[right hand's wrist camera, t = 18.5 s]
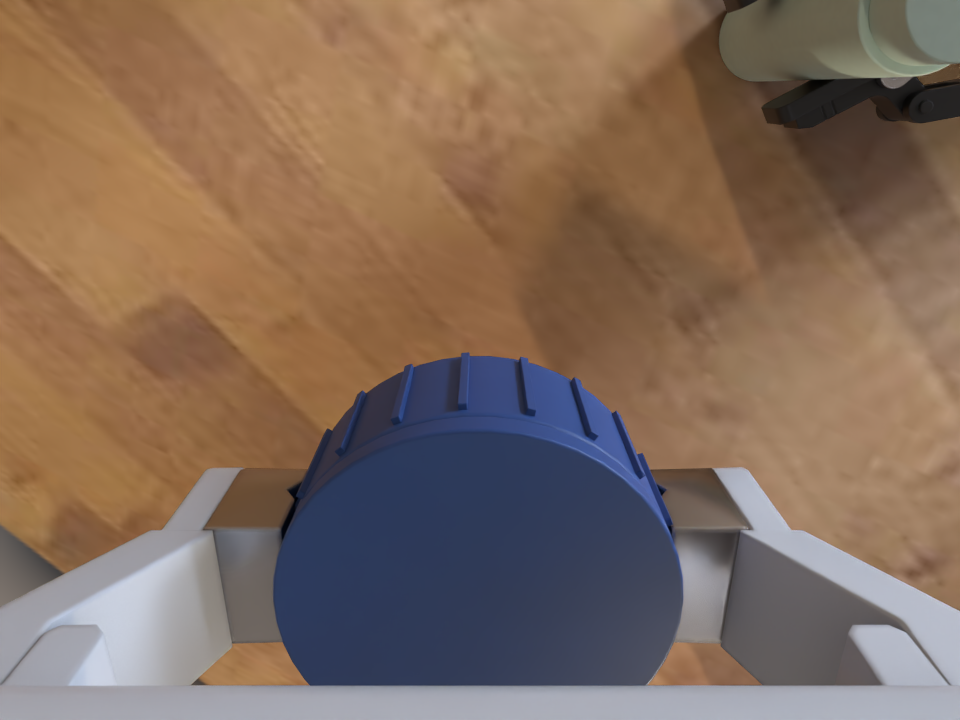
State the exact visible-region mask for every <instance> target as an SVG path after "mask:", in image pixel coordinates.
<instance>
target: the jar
mask: <svg viewBox="0 0 960 720" xmlns="http://www.w3.org/2000/svg"><path fill="white" fill-rule="evenodd" d="M719 49H720V54H721V57H722V60H723V62H724V64H725V65H726V67H727V68H728V69H729V70H730V71H731V72H732V73H733V74H734V75H735V76H737V77H739V78H741V79H744V80H747V81H756V82H757V81H789V80H822V79H854V78H886V77H914V76H922V75H927V74H930V73H933V72H936V71H939V70H941V69H943V68H945V67H947V66H948V65H950V64H959V63H960V0H757V1H756V2H754V3H752V4H750V5H748V6H746V7H744V8H742V9H739V10H736V11H733V12H730V13H728V12H727V14H726V16H725V18H724V20H723V23H722V26H721V29H720V34H719Z"/></svg>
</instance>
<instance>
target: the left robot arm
mask: <svg viewBox="0 0 960 720" xmlns="http://www.w3.org/2000/svg"><path fill="white" fill-rule="evenodd" d="M723 1H724V3H725V6H726V9H727V12H728V13H730V12H733V11H736V10H739V9H742V8H744V7H746V6H748V5H750V4H752V3H754V2H756V1H757V0H723ZM868 98H870V99H871V100H872V101H873V102H874V104H875V105H876V113H877V115H878V117H879V118H880V119H882V120H884V121H909V122H912V123H926V122H932V121H937V120H943V119H948V118H954V117H959V116H960V78H959V79H954V80H949V81H943V82H938V83H932V84H927V85H923V84H922V83H921V82H920V81H919V80H918V78H917V77H916V76H914V77H886V78H854V79H822V80H810V81H808V82H806V83H804V84H802V85H800V86H799V87H797V88H795V89H793V90H791V91H789V92H787V93H785V94H783V95H782V96H780V97H778V98H776V99H774V100H772V101H770V102H768V103H767V104H765V105H764V106H762V110H763V113H764V116H765V119H766V121H767V123H769V124H779V125H781V124H784V127H787V128H796V129H801V128H810V127H814V126H816V125H817V124H819V123H821V122H823V121H825V120H827V119H829V118H831V117H833V116H835V115H836V114H839V113H841V112H843V111H845V110H847V109H848V108H850V107H852V106H854V105H856V104H858V103H860V102H862V101H864V100H866V99H868Z"/></svg>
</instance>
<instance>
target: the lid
mask: <svg viewBox="0 0 960 720" xmlns="http://www.w3.org/2000/svg"><path fill="white" fill-rule="evenodd" d="M296 497H298V499H297V501H296V504H295V507H296V511H295V513H294V516H293V519H292V520H291V522H290V525H289V527H288V529H287V532H286V534H285V536H284V539H283V542H282V545H281V547H280V550H279V553H278V556H277V561H276V566H275V572H274V577H273V603H274V609H275V616H276V622H277V625H278V629H279V632H280V635H281V638H282V641H283V644H284V646H285V648H286V650H287V652H288V654H289V656H290V658H291V660H292V662H293V663H294V665H295V666H296V668H297V669H298V670H299V672H300V673H301V675H302V676H303V678H304V679H305V680H306V681H307V683H308V684H309V685H310V686H647V685H648V684H649V683H650V681H651V680H652V679H653V678H654V676H655V675H656V673H657V672H658V670H659V669H660V667H661V666H662V664H663V663H664V661H665V660H666V658H667V655H668V653H669V651H670V649H671V647H672V645H673V643H674V640H675V637H676V634H677V630H678V627H679V624H680V620H681V613H682V606H683V575H682V570H681V565H680V560H679V555H678V553H677V550H676V547H675V545H674V542H673V539H672V537H671V534H670V532H669V529H668V526H671V525H673V522H672V519H671V517H670V514H669V512H668V510H667V508H666V505H665V503H664V501H663V499H662V496H661V494H660V492H659V489H658V487H657V485H656V483H655V480H654V478H653V476H652V474H651V471H650V469H649V467H648V464H647V462H646V460H645V458H644V455H643V453H641V454H638V455H637V454H636V451H635V449H634V446H633V444H632V442H631V439H630V437H629V435H628V432H627V430H626V428H625V425H624V423H623V420H622V418H621V416H620V414H619V413H618V412H617V411H615V412H613V413H611V411H610V410H609V409H608V408H606V407H605V406H604V405H603V404H602V403H601V402H600V401H599V400H598V399H597V398H596V397H595V396H594V395H592V394H591V393H590V392H588V391H587V390H585V389H584V388H583V387H582V384H581V381H580V380H579V379H577V378H575V377H574V378H573V379H572V380H570V379H568V378H566V377H564V376H562V375H560V374H559V373H556V372H554V371H551V370H549V369H546V368H543V367H541V366H538V365H535V364H531V363H528V358H524V357H520V360H515V359H509V358H500V357H492V356H470V354H469V353H462V354H461V357H457V358H449V359H442V360H438V361H434V362H430V363H426V364H422V365H419V366H416V367H413V365H412V364H410V365H407V366H405V368H404V371H403V372H401V373H398V374H397V375H395V376H393V377H391V378H389V379H387V380H386V381H384V382H382V383H380V384H378V385H377V386H376V387H374V388H373V389H372V390H370V391H369V392H368V393H365V392H364V391H361V392H360V393H359V394H358V395H357V397H356V399H355V402H354V404H353V406H352V407H351V408H350V409H349V410H348V411H347V412H346V413H345V414H344V416H343V417H342V418H341V419H340V421H339V422H338V423H337V425H336V426H335V427H334V429H333V431H332V430H330V429H327V430H326V432H325V433H324V435H323V437H322V440H321V442H320V444H319V446H318V448H317V451H316V453H315V455H314V457H313V459H312V462H311V464H310V466H309V468H308V470H307V473H306V475H305V477H304V479H303V481H302V484H301V486H300V488H299V490H298V492H297V495H296Z"/></svg>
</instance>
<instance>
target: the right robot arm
mask: <svg viewBox="0 0 960 720" xmlns="http://www.w3.org/2000/svg"><path fill="white" fill-rule="evenodd" d="M307 470H308V469H275V468H245V469H244V468H242V467H235V468H211V469H206V470H205V472H204V473H203V474H202V476H201V477H200V478H199V480H198V481H197V482H196V484H195V485H194V486H193V488H192V489H191V491H190V492H189V493H188V495H187V496H186V497H185V499H184V500H183V501H182V503H181V504H180V506H179V507H178V508H177V510H176V511H175V512H174V514H173V515H172V516H171V518H170V519H169V521H168V522H167V523H166V525H165V526H164V527H163V529H162V530H150V531H148V532H146V533H144V534H142V535H140V536H138V537H136V538H134V539H133V540H131V541H129V542H127V543H125V544H123V545H121V546H119V547H117V548H115V549H113V550H111V551H109V552H107V553H105V554H103V555H101V556H99V557H97V558H95V559H93V560H91V561H89V562H87V563H85V564H83V565H81V566H79V567H77V568H75V569H73V570H71V571H69V572H67V573H66V574H64V575H62V576H60V577H58V578H56V579H54V580H52V581H50V582H48V583H46V584H44V585H42V586H40V587H38V588H36V589H34V590H32V591H30V592H28V593H26V594H24V595H22V596H20V597H18V598H16V599H14V600H12V601H10V602H8V603H6V604H4V605H3V606H0V720H960V611H958V610H956V609H954V608H952V607H950V606H948V605H947V604H945V603H943V602H941V601H939V600H937V599H935V598H933V597H931V596H929V595H927V594H925V593H923V592H921V591H919V590H917V589H915V588H913V587H912V586H910V585H908V584H906V583H904V582H902V581H900V580H898V579H896V578H894V577H892V576H890V575H888V574H886V573H884V572H882V571H880V570H878V569H877V568H875V567H873V566H871V565H869V564H867V563H865V562H863V561H861V560H859V559H857V558H855V557H853V556H851V555H849V554H847V553H845V552H843V551H842V550H840V549H838V548H836V547H834V546H832V545H830V544H828V543H826V542H824V541H822V540H820V539H818V538H816V537H814V536H812V535H810V534H808V533H806V532H805V531H803V530H791V529H790V528H789V526H788V525H787V523H786V522H785V521H784V519H783V518H782V516H781V515H780V514H779V512H778V511H777V510H776V508H775V507H774V505H773V504H772V503H771V501H770V500H769V498H768V497H767V496H766V494H765V493H764V492H763V490H762V489H761V487H760V486H759V485H758V483H757V482H756V481H755V479H754V478H753V476H752V475H751V474H750V472H749V471H748V470H747V469H745V468H743V467H733V468H700V469H659V470H650V471H651V474H652V476H653V478H654V480H655V483H656V485H657V487H658V489H659V492H660V494H661V496H662V499H663V501H664V503H665V505H666V508H667V510H668V512H669V514H670V517H671V519H672V522H673V525H671V526H668V529H669V532H670V534H671V537H672V539H673V542H674V545H675V547H676V550H677V553H678V555H679V560H680V565H681V570H682V575H683V606H682V613H681V620H680V624H679V627H678V630H677V634H676V637H675V640H674V642H687V643H721V647H722V648H723V649H724V650H725V651H726V652H728V653H729V654H730V655H731V656H732V657H733V658H734V659H735V660H736V661H737V662H738V663H739V664H741V665H742V666H743V667H744V668H745V669H746V670H747V671H748V672H749V673H750V674H751V675H753V676H754V677H755V678H756V679H757V680H758V681H759V682H760V683H761V684H762V685H763V686H190V685H191V684H192V683H193V682H194V681H195V680H196V679H198V678H199V677H200V676H201V675H202V674H203V673H204V672H205V671H206V670H207V669H209V668H210V667H211V666H212V665H213V664H214V663H215V662H216V661H217V660H218V659H220V658H221V657H222V656H223V655H224V654H225V653H226V652H227V651H228V650H229V649H231V648H232V643H265V642H283V641H282V638H281V635H280V632H279V629H278V625H277V622H276V616H275V609H274V603H273V577H274V572H275V566H276V561H277V556H278V553H279V550H280V547H281V545H282V542H283V539H284V536H285V534H286V532H287V529H288V527H289V525H290V522H291V520H292V519H293V516H294V513H295V511H296V507H295V504H296V501H297V499H298V497H296V495H297V492H298V490H299V488H300V486H301V484H302V481H303V479H304V477H305V475H306V473H307Z"/></svg>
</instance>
